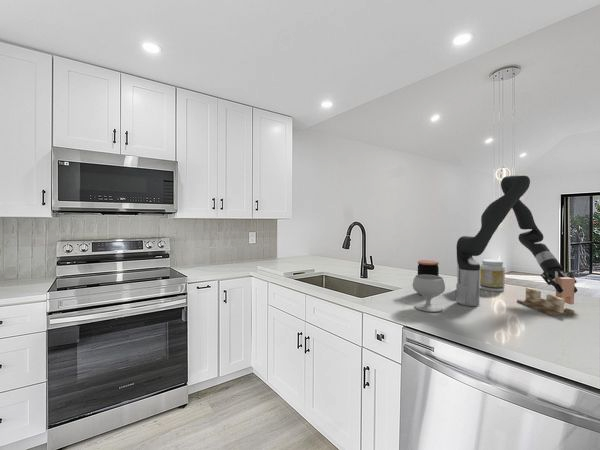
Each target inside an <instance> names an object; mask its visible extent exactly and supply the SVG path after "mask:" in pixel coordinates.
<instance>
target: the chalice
mask: <svg viewBox="0 0 600 450" xmlns="http://www.w3.org/2000/svg"><path fill="white" fill-rule="evenodd" d="M412 289H413V290H414V291H415V292H416V293H418V294H419V295H420V294H421V296H422V297H423V298H424V299H425V303H417V304H415V305H414V308H415V309H416V310H419V311H422V312H428V313H429V312H430V313H439V312H441V311H442V312H443V308H442V307H441V306H439V305H437V304H432V303H431V302H432V301H431V300H432V299H433V298H434V297H437V296H440V295H441V294H443V293H444V292H445V290H446V285H445V281H444V278H443V276H440V275H439V276H436V275H425V274H422V275H418V274H416V275H415V276H414V278H413V281H412Z"/></svg>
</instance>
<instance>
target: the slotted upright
mask: <svg viewBox="0 0 600 450" xmlns="http://www.w3.org/2000/svg"><path fill="white" fill-rule="evenodd" d="M574 278H575V277H574ZM574 278H570V277H557V278H556V280H557V282H558V284H559V285H560V286H561V288H562V289H563V292H562V293H559V292H558V291H557V290H556V289H555V296H556V297H559V298H562V299H564V305H565V304H569V305H575V293H574V288H575V287H576V286H575V284H576V283H575V280H576V278H575V279H574Z"/></svg>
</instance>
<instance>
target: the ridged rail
mask: <svg viewBox="0 0 600 450" xmlns="http://www.w3.org/2000/svg"><path fill="white" fill-rule="evenodd" d="M541 293H542V292H541V291H539V290H537V289H533V288H531V287H525V299H516V302H517V303H518V304H521V305H522V306H526V307H528V308H531V309H534V310H535V311H537V312H541V313H543V314H546V315H549V316H574V312H573V311H570V310H567V309H565V307H564V306H565V304H564V299H562V298H559V297H556V295H553V294H549V293H548V294H546V297H545V298H543V297H541V296H542V295H541Z"/></svg>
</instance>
